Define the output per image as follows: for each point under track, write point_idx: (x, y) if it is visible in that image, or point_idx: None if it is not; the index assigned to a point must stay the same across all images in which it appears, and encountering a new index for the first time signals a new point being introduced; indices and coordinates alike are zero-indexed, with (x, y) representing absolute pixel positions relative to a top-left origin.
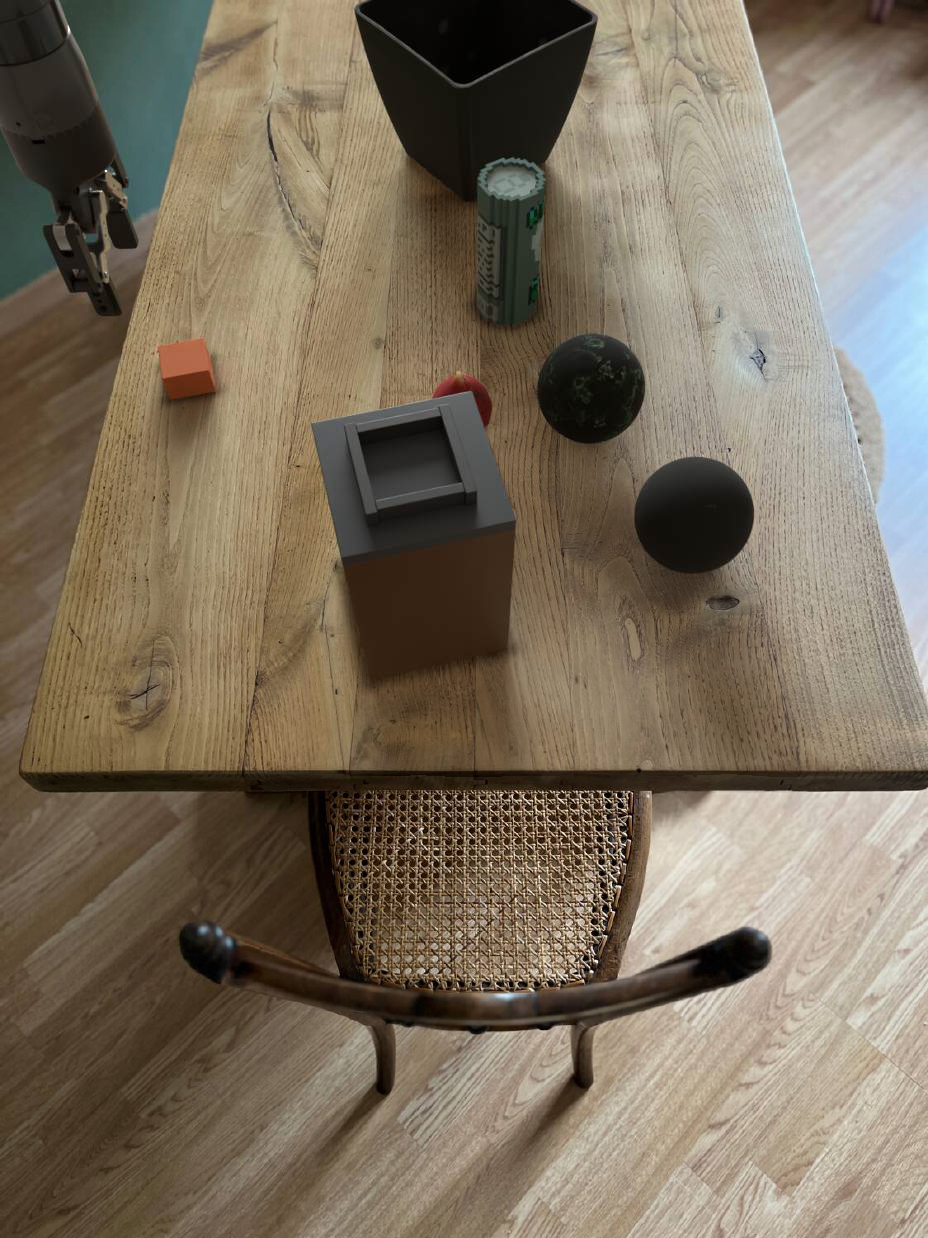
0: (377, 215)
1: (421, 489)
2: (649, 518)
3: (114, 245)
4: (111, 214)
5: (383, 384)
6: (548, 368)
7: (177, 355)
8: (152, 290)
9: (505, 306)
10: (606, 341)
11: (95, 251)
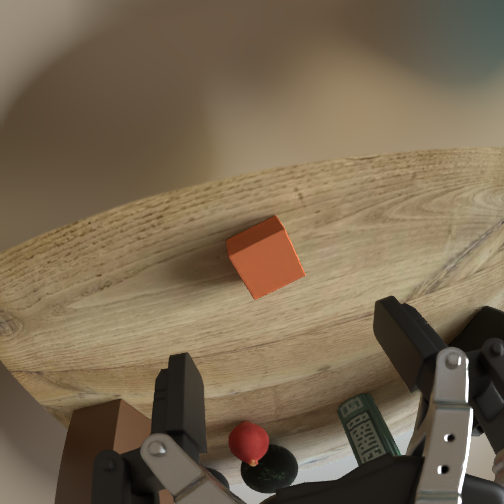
0: (446, 314)
1: None
2: None
3: (379, 304)
4: (415, 373)
5: (281, 384)
6: (268, 477)
7: (272, 258)
8: (391, 154)
9: (342, 422)
10: None
11: None
